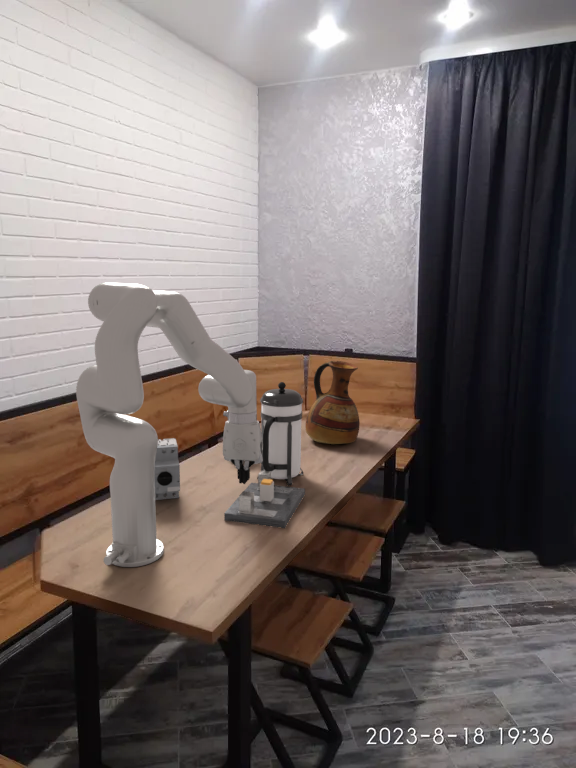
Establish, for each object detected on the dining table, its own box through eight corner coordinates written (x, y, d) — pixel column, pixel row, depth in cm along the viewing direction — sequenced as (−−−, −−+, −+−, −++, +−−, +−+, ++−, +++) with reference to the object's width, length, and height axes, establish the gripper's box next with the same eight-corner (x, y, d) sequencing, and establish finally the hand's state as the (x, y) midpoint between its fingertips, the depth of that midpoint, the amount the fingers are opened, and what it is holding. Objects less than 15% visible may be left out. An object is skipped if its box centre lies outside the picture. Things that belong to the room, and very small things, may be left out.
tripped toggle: (270, 501, 156) (270, 483, 155) (259, 500, 157) (259, 482, 156) (273, 497, 159) (273, 479, 158) (263, 496, 159) (263, 478, 158)
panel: (284, 528, 146) (285, 503, 144) (224, 520, 150) (224, 496, 148) (304, 495, 167) (305, 473, 165) (251, 489, 171) (251, 467, 169)
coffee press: (247, 472, 184) (247, 378, 178) (295, 467, 189) (296, 376, 183) (263, 492, 168) (264, 390, 162) (315, 486, 173) (317, 387, 167)
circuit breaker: (152, 509, 156) (150, 455, 153) (150, 489, 169) (148, 439, 166) (181, 506, 158) (179, 453, 155) (176, 487, 171) (175, 438, 168)
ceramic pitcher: (348, 452, 204) (351, 368, 198) (296, 444, 213) (297, 363, 207) (366, 438, 222) (369, 360, 216) (317, 430, 230) (319, 355, 224)
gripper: (210, 418, 153) (212, 484, 157) (265, 422, 150) (266, 490, 154) (221, 411, 160) (222, 474, 164) (273, 415, 157) (274, 479, 161)
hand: (243, 481), depth 159 cm, fingers closed
